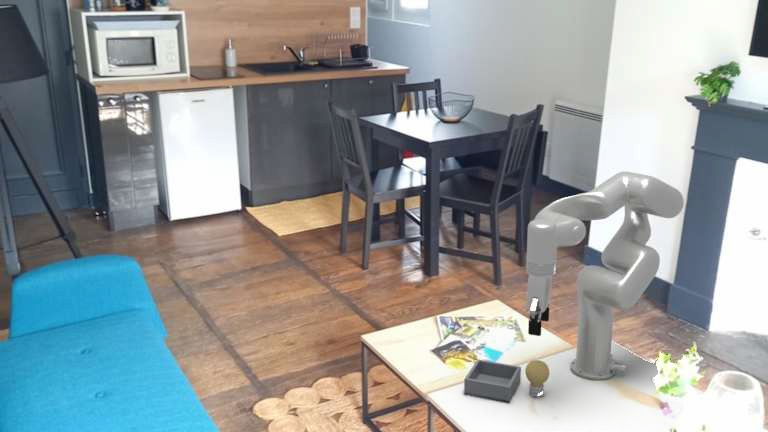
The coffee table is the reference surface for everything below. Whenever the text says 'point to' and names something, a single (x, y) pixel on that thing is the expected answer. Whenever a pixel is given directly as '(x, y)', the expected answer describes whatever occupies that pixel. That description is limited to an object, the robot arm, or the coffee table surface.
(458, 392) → the coffee table surface
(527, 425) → the coffee table surface
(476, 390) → the bin
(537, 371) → the light bulb
